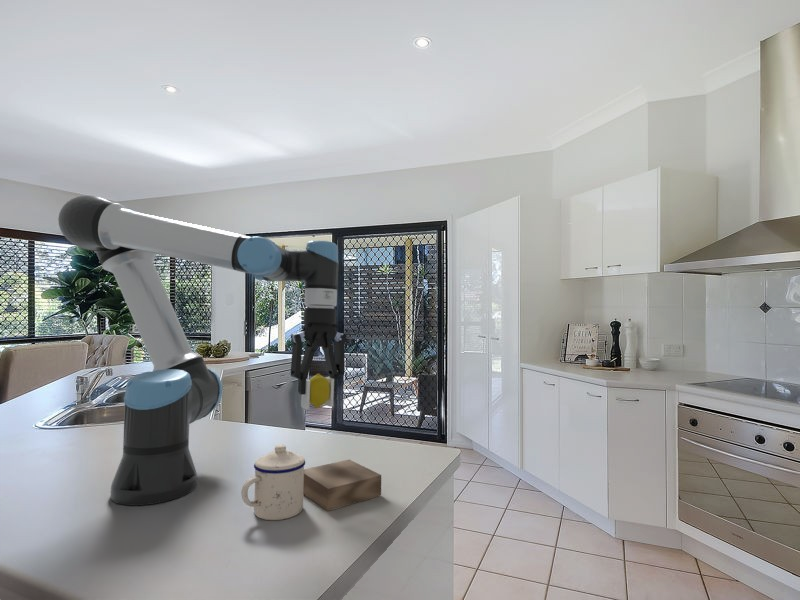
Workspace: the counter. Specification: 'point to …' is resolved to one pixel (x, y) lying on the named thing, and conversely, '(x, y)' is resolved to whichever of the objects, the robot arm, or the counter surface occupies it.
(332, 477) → the walnut plinth
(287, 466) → the teacup with lid
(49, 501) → the counter surface
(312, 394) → the lemon
